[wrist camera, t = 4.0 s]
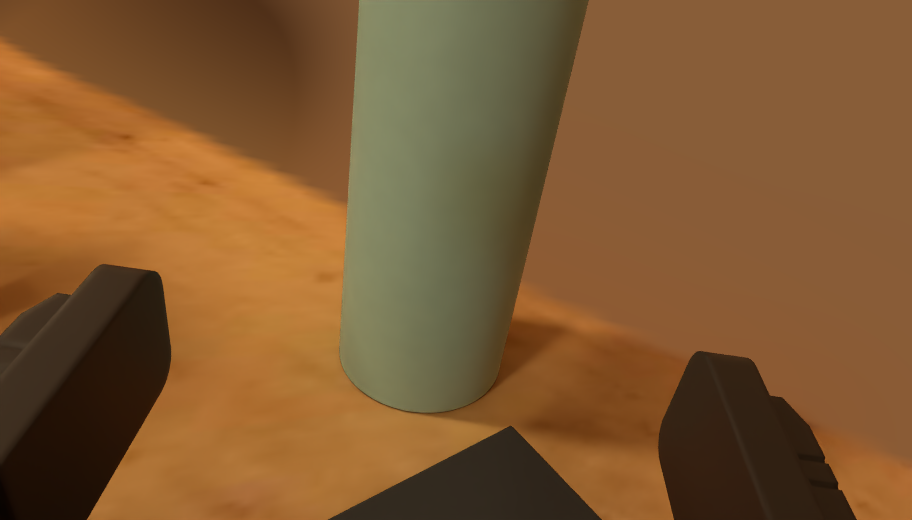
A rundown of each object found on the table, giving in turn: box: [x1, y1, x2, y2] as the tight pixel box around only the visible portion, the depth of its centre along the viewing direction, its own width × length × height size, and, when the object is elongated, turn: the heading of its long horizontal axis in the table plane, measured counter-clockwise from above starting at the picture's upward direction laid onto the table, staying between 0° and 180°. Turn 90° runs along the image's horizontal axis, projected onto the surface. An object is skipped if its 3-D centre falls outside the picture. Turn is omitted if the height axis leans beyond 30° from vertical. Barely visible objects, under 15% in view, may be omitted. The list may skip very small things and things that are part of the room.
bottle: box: [339, 0, 589, 413], centre depth 20 cm, size 6×6×18 cm
